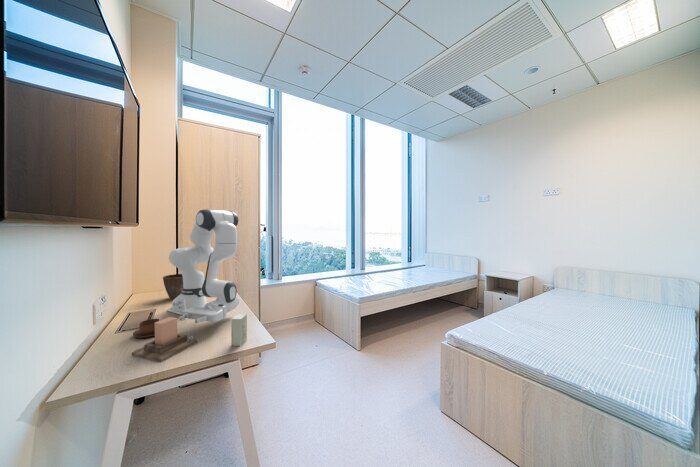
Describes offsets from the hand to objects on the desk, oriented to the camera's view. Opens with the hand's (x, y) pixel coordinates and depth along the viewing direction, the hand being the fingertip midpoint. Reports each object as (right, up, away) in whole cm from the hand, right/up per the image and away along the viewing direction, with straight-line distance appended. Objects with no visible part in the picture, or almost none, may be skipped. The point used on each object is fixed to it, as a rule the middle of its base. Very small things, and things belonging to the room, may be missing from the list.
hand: (188, 320), depth 113 cm
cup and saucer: (-21, -8, +4) cm, 23 cm away
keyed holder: (-3, -8, -10) cm, 13 cm away
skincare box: (+26, -9, -4) cm, 28 cm away
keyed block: (-3, -7, -10) cm, 12 cm away
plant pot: (-48, -6, +59) cm, 76 cm away
